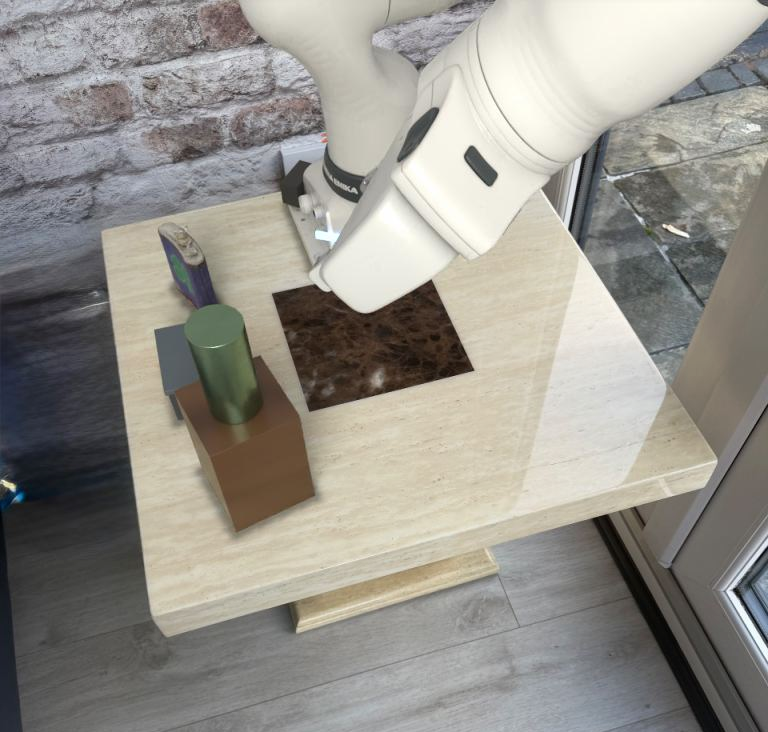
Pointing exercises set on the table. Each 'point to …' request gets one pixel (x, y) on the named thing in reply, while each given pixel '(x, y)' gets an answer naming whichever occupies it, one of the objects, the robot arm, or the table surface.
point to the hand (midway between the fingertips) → (345, 232)
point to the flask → (187, 265)
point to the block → (251, 452)
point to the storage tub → (174, 362)
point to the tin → (224, 363)
